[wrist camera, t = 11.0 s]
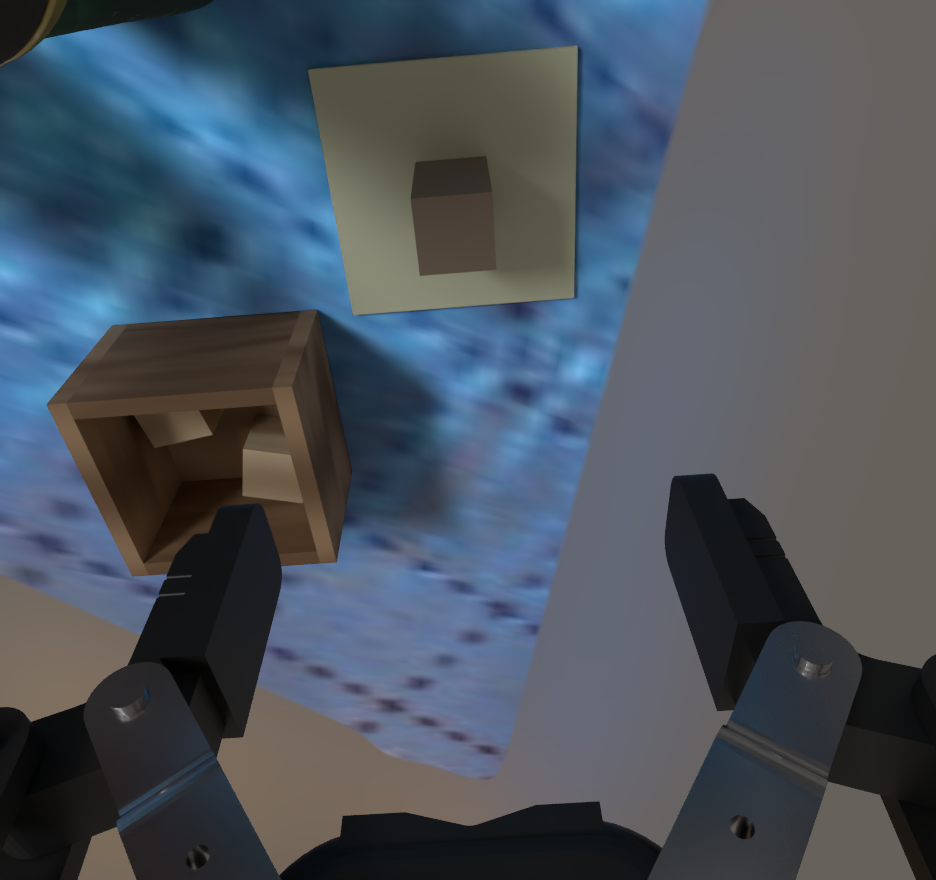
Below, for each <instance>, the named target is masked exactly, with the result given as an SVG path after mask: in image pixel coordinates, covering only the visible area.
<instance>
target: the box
mask: <svg viewBox="0 0 936 880" xmlns="http://www.w3.org/2000/svg"><path fill="white" fill-rule="evenodd" d="M47 407H48V409H49V411H50V413H51V415H52V417H53V419H54V421H55V423H56V425H57V427H58V429H59V431H60V433H61V435H62V437H63V439H64V441H65V443H66V445H67V447H68V449H69V451H70V453H71V455H72V457H73V459H74V461H75V463H76V465H77V467H78V469H79V471H80V473H81V475H82V477H83V479H84V481H85V483H86V485H87V487H88V489H89V491H90V493H91V495H92V497H93V499H94V501H95V503H96V505H97V507H98V509H99V511H100V513H101V515H102V517H103V519H104V521H105V523H106V525H107V527H108V529H109V531H110V533H111V535H112V537H113V539H114V541H115V543H116V545H117V547H118V549H119V551H120V553H121V555H122V557H123V559H124V561H125V563H126V565H127V567H128V569H129V571H130V573H131V575H132V576H146V575H160V574H167V573H168V571H169V569H170V566H171V564H172V562H173V559H174V557H175V555H176V553H177V552H178V551H179V550H180V549H181V548H182V547H183V546H184V545H185V544H186V543H187V542H188V540H189V539H190V538H191V537H192V536H193V535H194V534H201V533H209V530H210V528H211V525H212V523H213V520H214V517H215V515H216V512H217V510H218V509H219V508H220V507H221V506H228V505H242V504H257V503H259V504H261V505H262V507H263V508H264V511H265V514H266V517H267V520H268V523H269V526H270V529H271V532H272V535H273V538H274V541H275V544H276V547H277V551H278V554H279V557H280V561H281V566H290V565H304V564H318V563H333V562H337V557H338V551H339V545H340V539H341V533H342V528H343V522H344V516H345V510H346V504H347V498H348V492H349V486H350V481H351V475H352V470H351V465H350V461H349V456H348V451H347V447H346V442H345V437H344V432H343V428H342V423H341V418H340V414H339V409H338V404H337V400H336V395H335V390H334V386H333V381H332V376H331V372H330V367H329V362H328V358H327V353H326V348H325V344H324V339H323V334H322V330H321V325H320V320H319V316H318V311H317V310H308V311H295V312H282V313H269V314H256V315H243V316H230V317H217V318H204V319H191V320H178V321H165V322H152V323H139V324H126V325H113V326H111V327H110V329H109V330H108V331H107V332H106V333H105V335H104V336H103V337H102V338H101V339H100V341H99V342H98V343H97V344H96V345H95V347H94V348H93V349H92V350H91V352H90V353H89V354H88V355H87V356H86V358H85V359H84V360H83V361H82V362H81V364H80V365H79V366H78V367H77V368H76V370H75V371H74V372H73V373H72V374H71V376H70V377H69V378H68V379H67V380H66V382H65V383H64V384H63V385H62V387H61V388H60V389H59V390H58V391H57V393H56V394H55V395H54V396H53V397H52V399H51V400H50V401H49V402H48V403H47ZM223 408H225V409H224V411H223V413H222V415H221V418H220V420H219V422H218V424H217V426H216V429H215V431H214V433H213V435H210V436H205V437H201V438H196V439H192V440H188V441H183V442H179V443H175V444H170V445H166V446H162V447H157V448H154V446H153V445H152V443H151V441H150V440H149V438H148V437H147V435H146V434H145V432H144V430H143V429H142V427H141V426H140V424H139V423H138V421H137V420H136V418H135V416H134V415H142V414H155V413H169V412H182V411H196V410H209V409H223ZM256 414H259V415H266V416H273V417H280V419H281V422H282V426H283V429H284V433H285V437H286V440H287V444H288V448H289V451H290V455H291V459H292V462H293V466H294V470H295V473H296V477H297V481H298V484H299V488H300V492H301V495H302V499H303V503H296V502H288V501H280V500H272V499H264V498H256V497H248V496H242V493H243V448H244V445H245V442H246V440H247V437H248V435H249V432H250V429H251V427H252V424H253V422H254V419H255V416H256Z"/></svg>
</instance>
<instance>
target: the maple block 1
mask: <svg viewBox="0 0 936 880" xmlns="http://www.w3.org/2000/svg"><path fill="white" fill-rule="evenodd" d="M224 409H225V408H223V409H209V410H196V411H182V412H169V413H155V414H142V415H134V416H135V418H136V420H137V421H138V423H139V424H140V426H141V427H142V429H143V430H144V432H145V434H146V435H147V437H148V438H149V440H150V441H151V443H152V445H153V446H154V448H157V447H162V446H166V445H170V444H175V443H179V442H183V441H188V440H192V439H196V438H201V437H205V436H210V435H213V433H214V431H215V429H216V426H217V424H218V422H219V420H220V418H221V415H222V413H223V411H224Z"/></svg>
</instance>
